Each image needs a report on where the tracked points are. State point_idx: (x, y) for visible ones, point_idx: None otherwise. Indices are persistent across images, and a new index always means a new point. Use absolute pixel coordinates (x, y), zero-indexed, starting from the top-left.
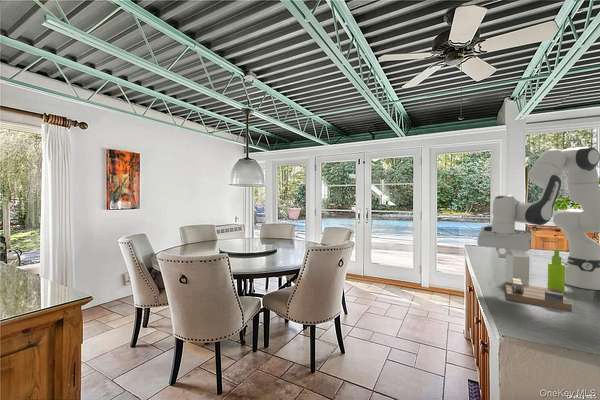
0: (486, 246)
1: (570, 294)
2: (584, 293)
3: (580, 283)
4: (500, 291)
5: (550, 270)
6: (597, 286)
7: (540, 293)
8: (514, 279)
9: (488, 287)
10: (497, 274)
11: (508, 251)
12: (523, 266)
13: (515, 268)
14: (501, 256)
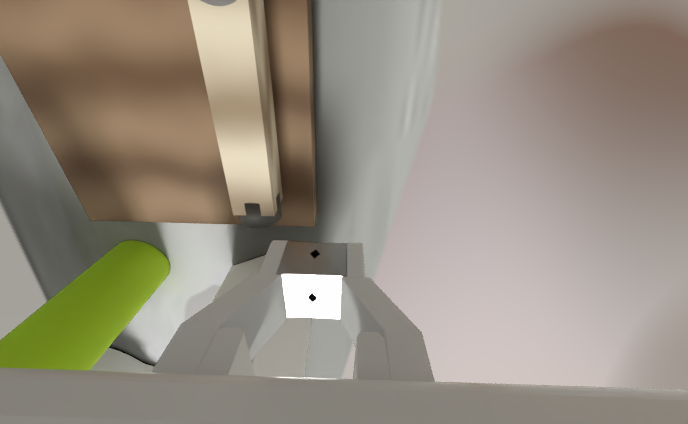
0: (686, 391)
1: (94, 251)
2: None
3: None
4: (340, 96)
5: (75, 331)
6: None
7: (129, 64)
8: (257, 160)
9: (393, 145)
10: (339, 368)
11: (192, 324)
12: None
13: None
14: (324, 248)
